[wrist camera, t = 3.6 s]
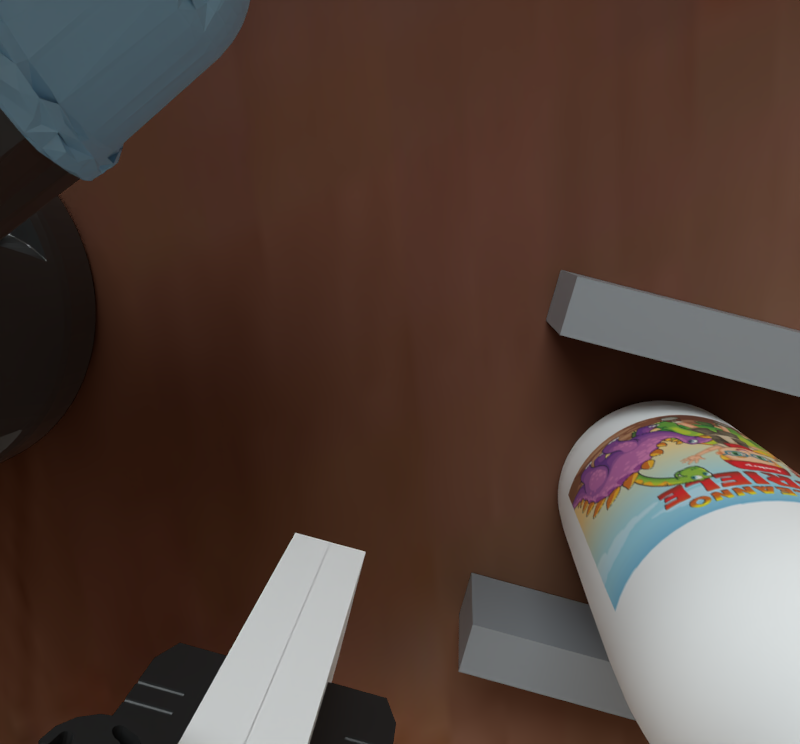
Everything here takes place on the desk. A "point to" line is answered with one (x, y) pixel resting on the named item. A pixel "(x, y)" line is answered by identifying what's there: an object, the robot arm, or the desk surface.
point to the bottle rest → (567, 619)
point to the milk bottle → (690, 572)
